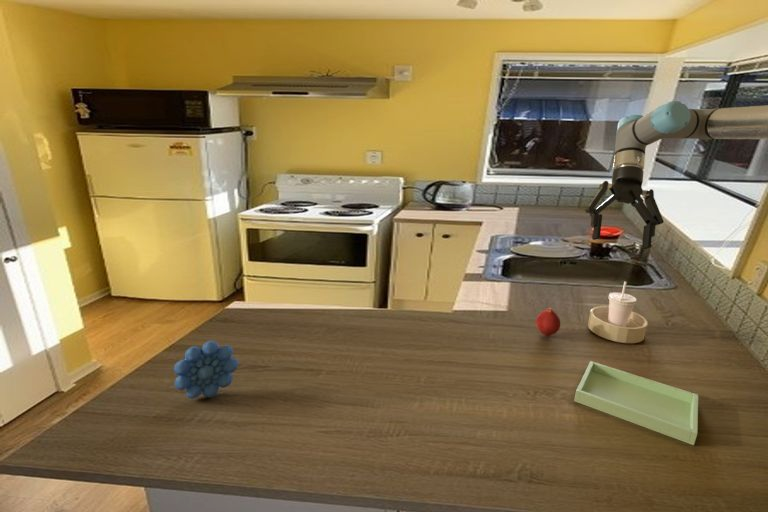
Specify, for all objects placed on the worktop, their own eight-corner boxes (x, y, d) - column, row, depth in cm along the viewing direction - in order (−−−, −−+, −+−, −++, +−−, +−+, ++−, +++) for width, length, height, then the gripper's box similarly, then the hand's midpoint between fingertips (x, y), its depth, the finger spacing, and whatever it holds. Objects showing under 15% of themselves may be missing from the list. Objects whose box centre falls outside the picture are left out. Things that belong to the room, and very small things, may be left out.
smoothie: (598, 330, 112) (608, 281, 108) (606, 322, 116) (616, 275, 112) (625, 339, 108) (636, 288, 103) (632, 330, 112) (643, 281, 108)
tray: (695, 405, 84) (698, 394, 83) (693, 445, 73) (697, 433, 72) (588, 370, 94) (590, 360, 94) (573, 401, 84) (576, 390, 83)
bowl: (646, 330, 114) (650, 314, 112) (640, 350, 103) (644, 333, 102) (593, 316, 121) (596, 301, 120) (583, 333, 111) (585, 318, 109)
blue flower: (241, 379, 88) (236, 327, 84) (240, 399, 82) (235, 344, 78) (180, 388, 85) (172, 334, 81) (174, 409, 79) (166, 352, 75)
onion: (538, 328, 113) (542, 301, 110) (560, 335, 110) (565, 307, 107) (531, 337, 108) (535, 308, 106) (554, 344, 105) (559, 314, 103)
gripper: (664, 183, 122) (658, 254, 118) (577, 167, 122) (569, 237, 118) (682, 173, 114) (676, 249, 110) (590, 156, 115) (581, 231, 111)
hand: (621, 243), depth 114 cm, fingers open, 13 cm apart
